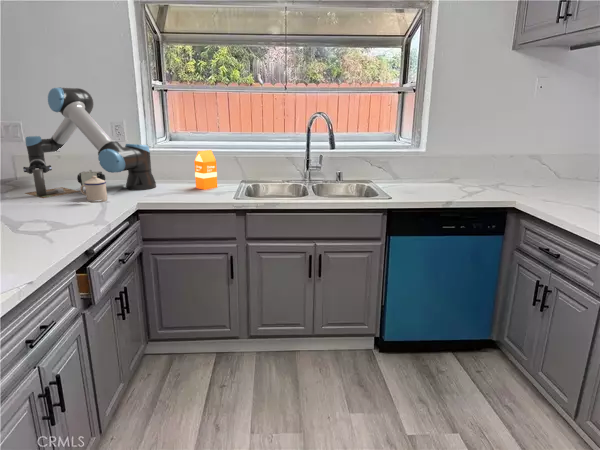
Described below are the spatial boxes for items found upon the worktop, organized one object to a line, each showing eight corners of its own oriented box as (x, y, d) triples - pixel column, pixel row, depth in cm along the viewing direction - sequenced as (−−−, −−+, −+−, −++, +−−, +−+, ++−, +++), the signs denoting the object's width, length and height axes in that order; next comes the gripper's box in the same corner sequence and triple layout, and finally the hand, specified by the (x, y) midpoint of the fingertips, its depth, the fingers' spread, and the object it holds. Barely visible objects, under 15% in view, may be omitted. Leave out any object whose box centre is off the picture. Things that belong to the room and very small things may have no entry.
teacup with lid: (112, 198, 196) (109, 174, 193) (101, 203, 187) (97, 178, 184) (88, 198, 197) (84, 173, 194) (76, 202, 188) (72, 177, 185)
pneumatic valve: (103, 194, 204) (100, 170, 200) (79, 195, 203) (75, 170, 199) (108, 192, 209) (105, 169, 205) (84, 192, 208) (81, 169, 205)
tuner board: (81, 194, 205) (81, 191, 205) (43, 200, 191) (42, 197, 190) (62, 189, 215) (61, 186, 214) (24, 195, 200) (24, 192, 200)
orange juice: (195, 187, 224) (193, 150, 218) (208, 185, 230) (207, 149, 224) (204, 189, 219) (202, 151, 213) (217, 187, 225) (216, 150, 219)
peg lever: (60, 191, 205) (56, 166, 201) (65, 191, 203) (61, 167, 200) (35, 196, 194) (30, 170, 190) (40, 196, 192) (36, 170, 189)
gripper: (52, 172, 227) (54, 179, 208) (24, 174, 221) (23, 181, 201) (50, 159, 225) (51, 164, 206) (22, 160, 219) (20, 166, 199)
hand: (37, 172), depth 204 cm, fingers closed
